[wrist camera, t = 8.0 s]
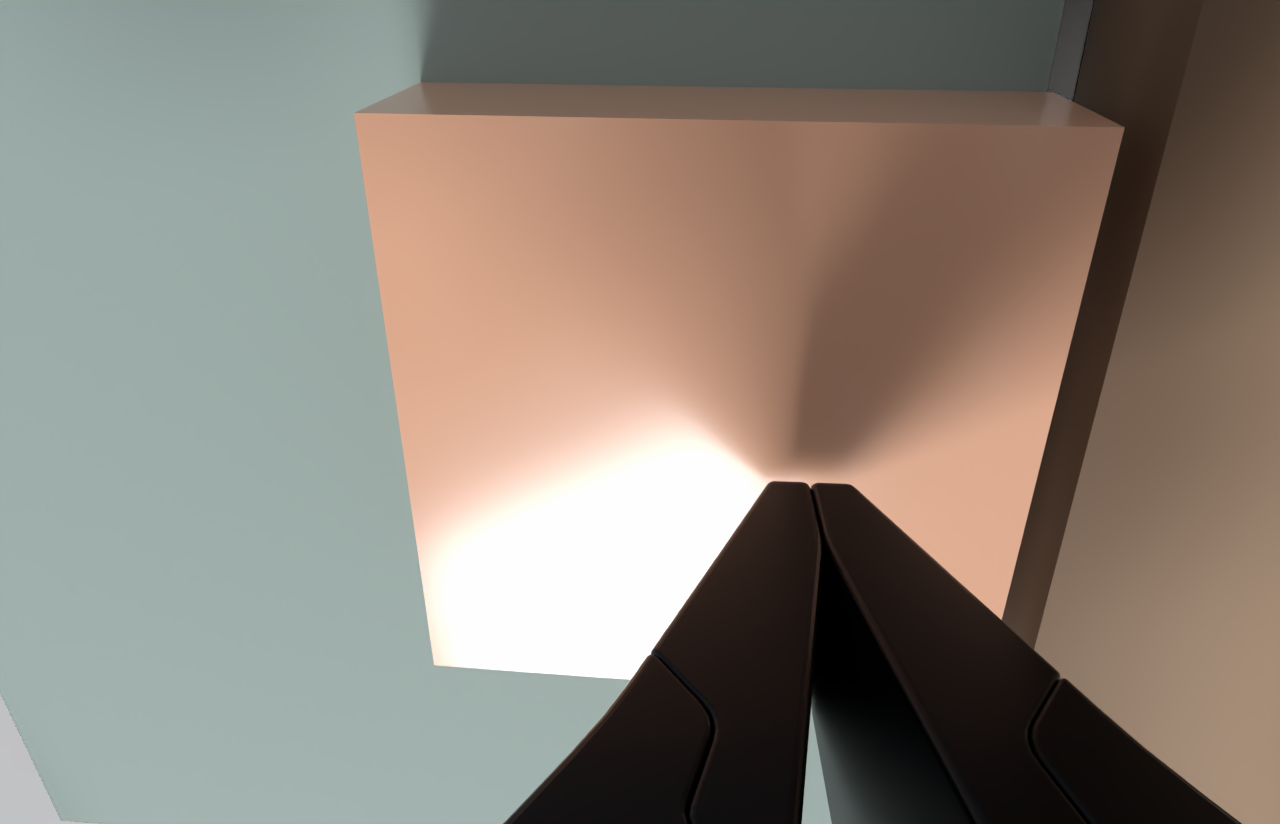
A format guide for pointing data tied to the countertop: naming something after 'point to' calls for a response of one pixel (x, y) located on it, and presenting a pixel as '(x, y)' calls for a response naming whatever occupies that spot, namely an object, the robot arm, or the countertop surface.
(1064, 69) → the countertop surface
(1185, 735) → the wooden block
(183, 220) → the mat
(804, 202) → the coaster
